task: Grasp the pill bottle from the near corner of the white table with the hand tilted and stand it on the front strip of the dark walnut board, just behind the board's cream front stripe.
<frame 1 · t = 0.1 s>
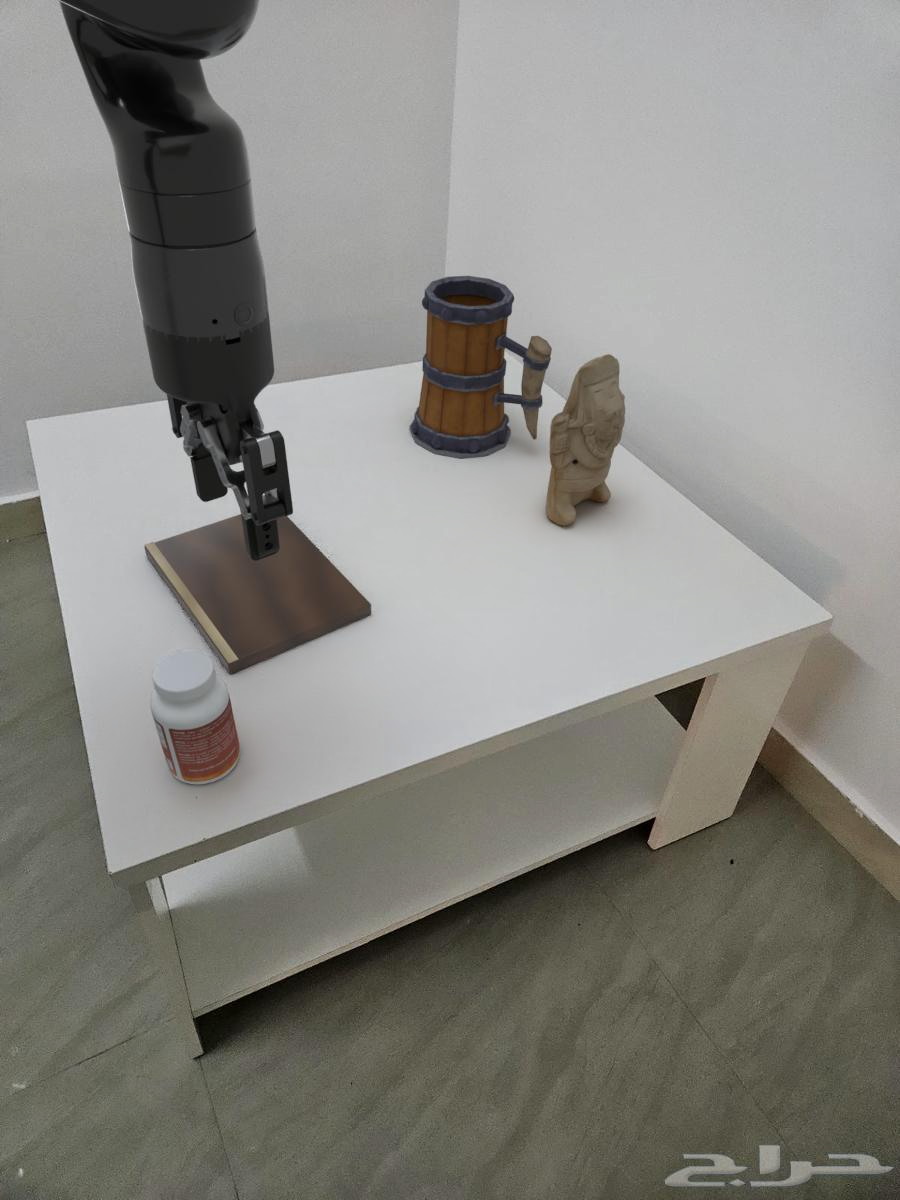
hand: (237, 524, 60), 22 cm above the table, tool pointing down, fingers open, 8 cm apart
figurine: (575, 510, 103), on the table
board: (255, 584, 89), on the table
pill bottle: (204, 759, 71), on the table
mug: (475, 438, 115), on the table
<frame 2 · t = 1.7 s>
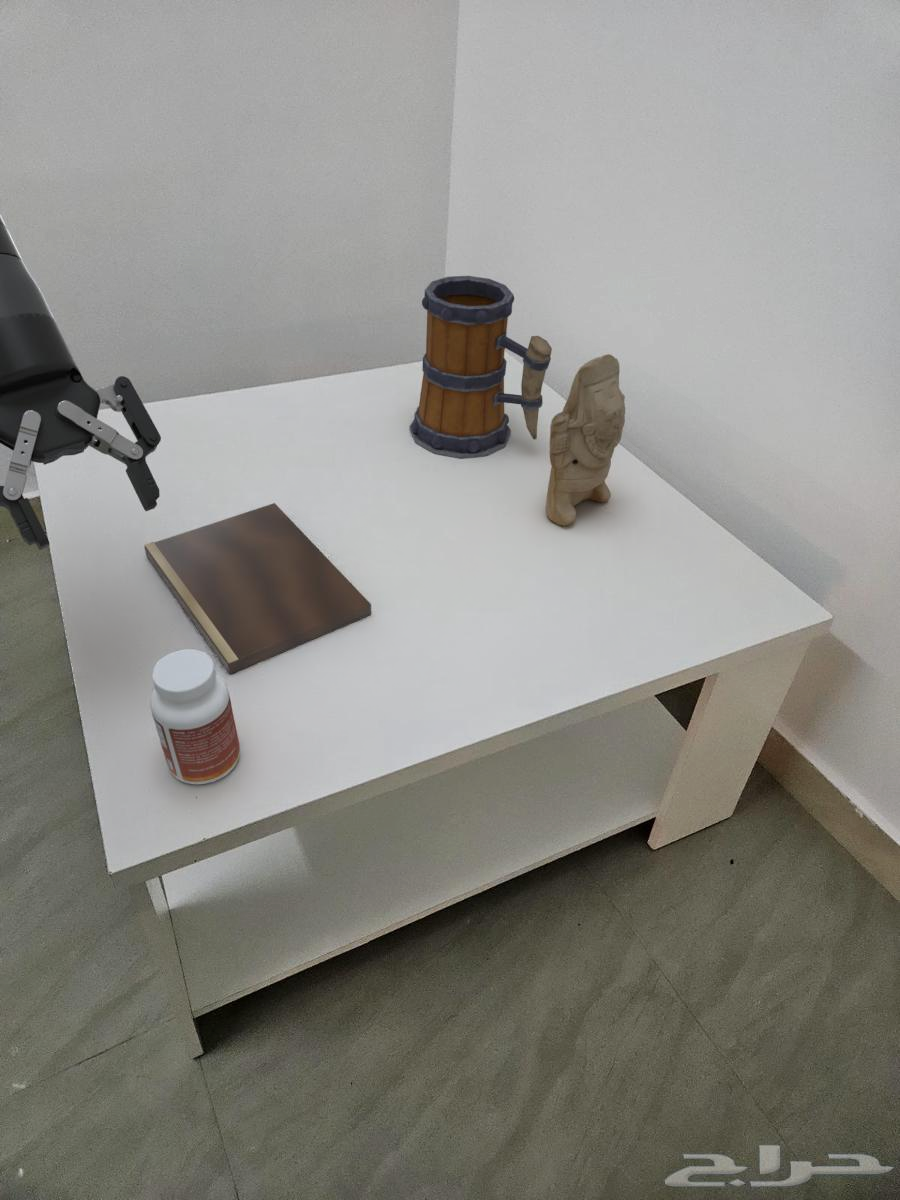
hand: (100, 526, 64), 19 cm above the table, tool tilted 45°, fingers open, 8 cm apart
nothing on the table moved.
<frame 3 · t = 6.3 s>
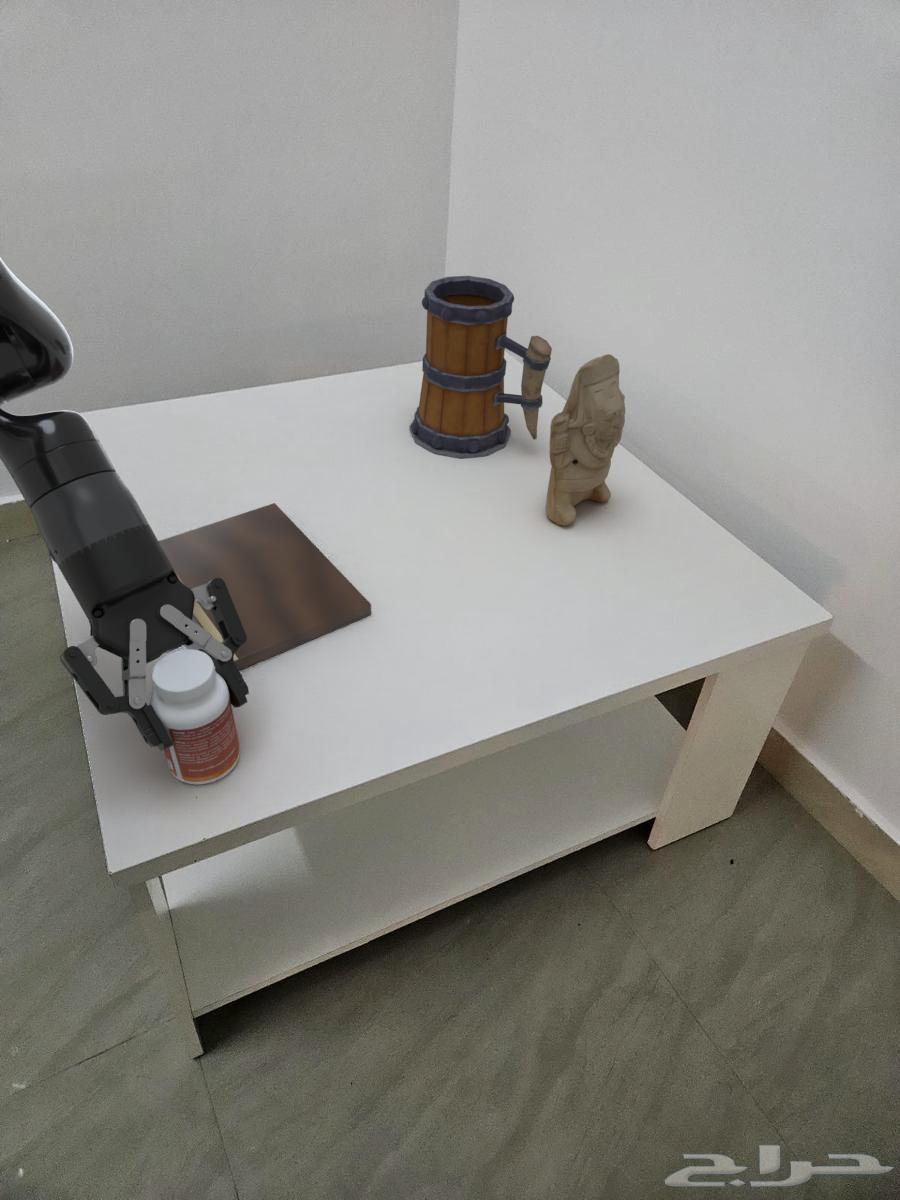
hand: (204, 725, 66), 6 cm above the table, tool tilted 45°, fingers closed on pill bottle, 6 cm apart
pill bottle: (204, 759, 71), on the table, touching gripper
everything else where it was.
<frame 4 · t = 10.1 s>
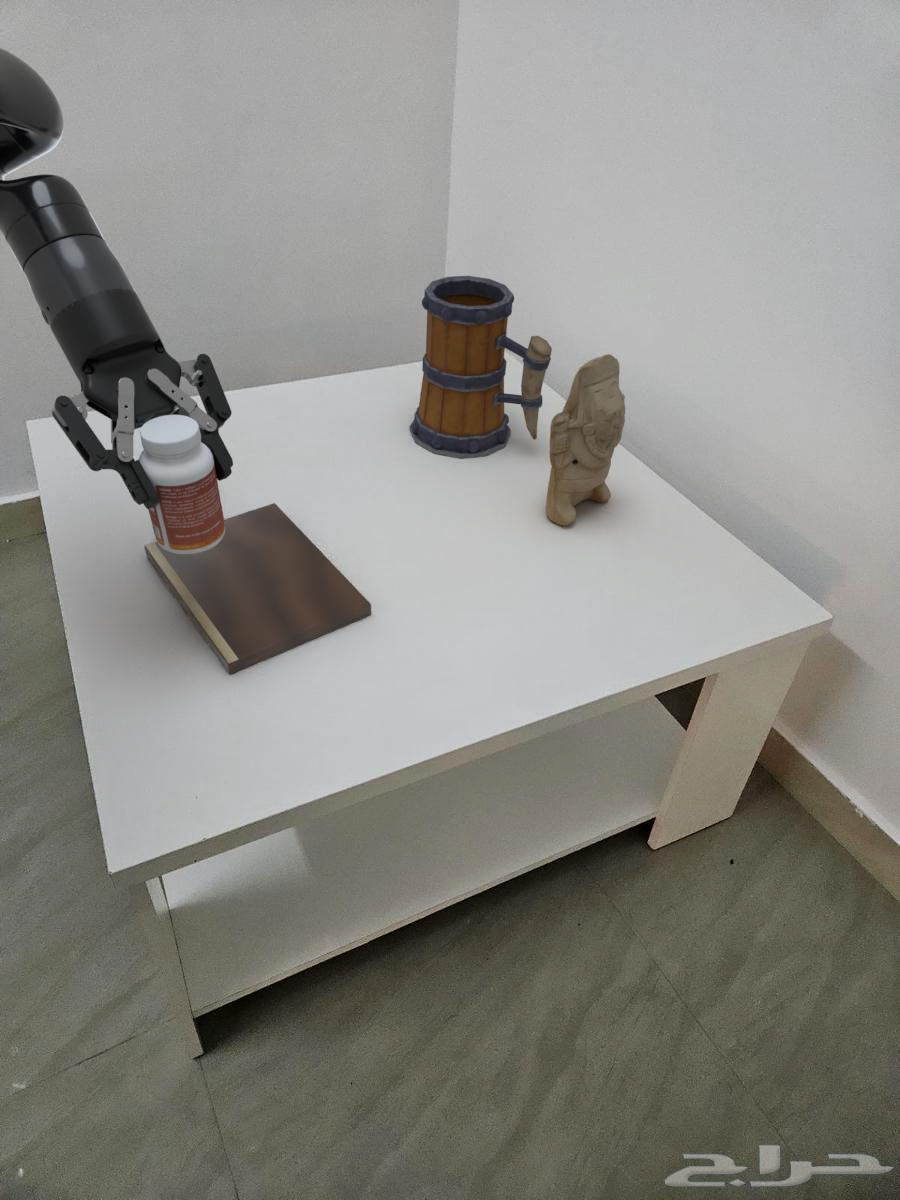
hand: (190, 490, 69), 18 cm above the table, tool tilted 45°, fingers closed on pill bottle, 6 cm apart
pill bottle: (191, 537, 74), point 12 cm above the table, touching gripper
everything else where it was.
when the fingers open (7 cm above the table, at t = 14.3 s): pill bottle stays where it is, resting on board.
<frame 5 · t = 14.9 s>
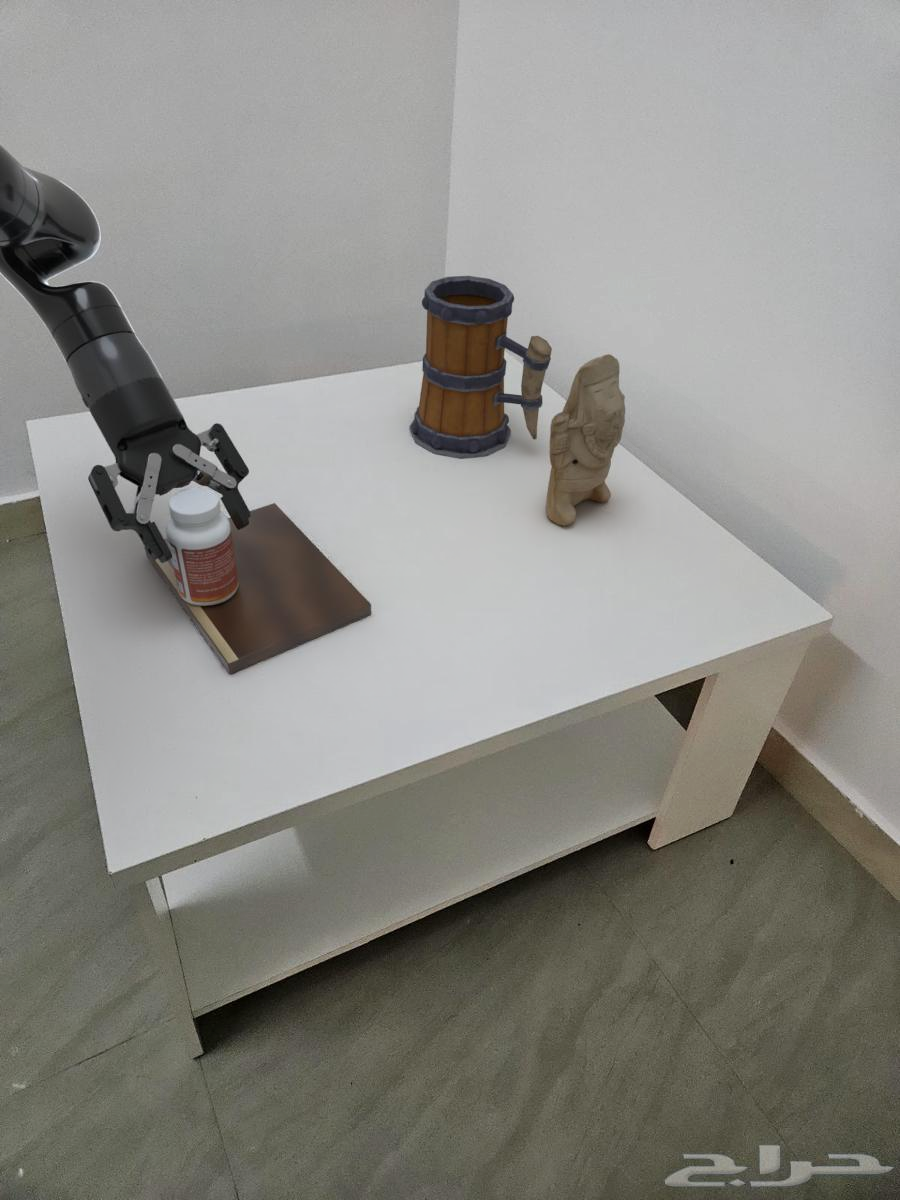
hand: (207, 543, 80), 8 cm above the table, tool tilted 45°, fingers open, 8 cm apart
pill bottle: (208, 590, 86), point 1 cm above the table, touching board
everything else where it was.
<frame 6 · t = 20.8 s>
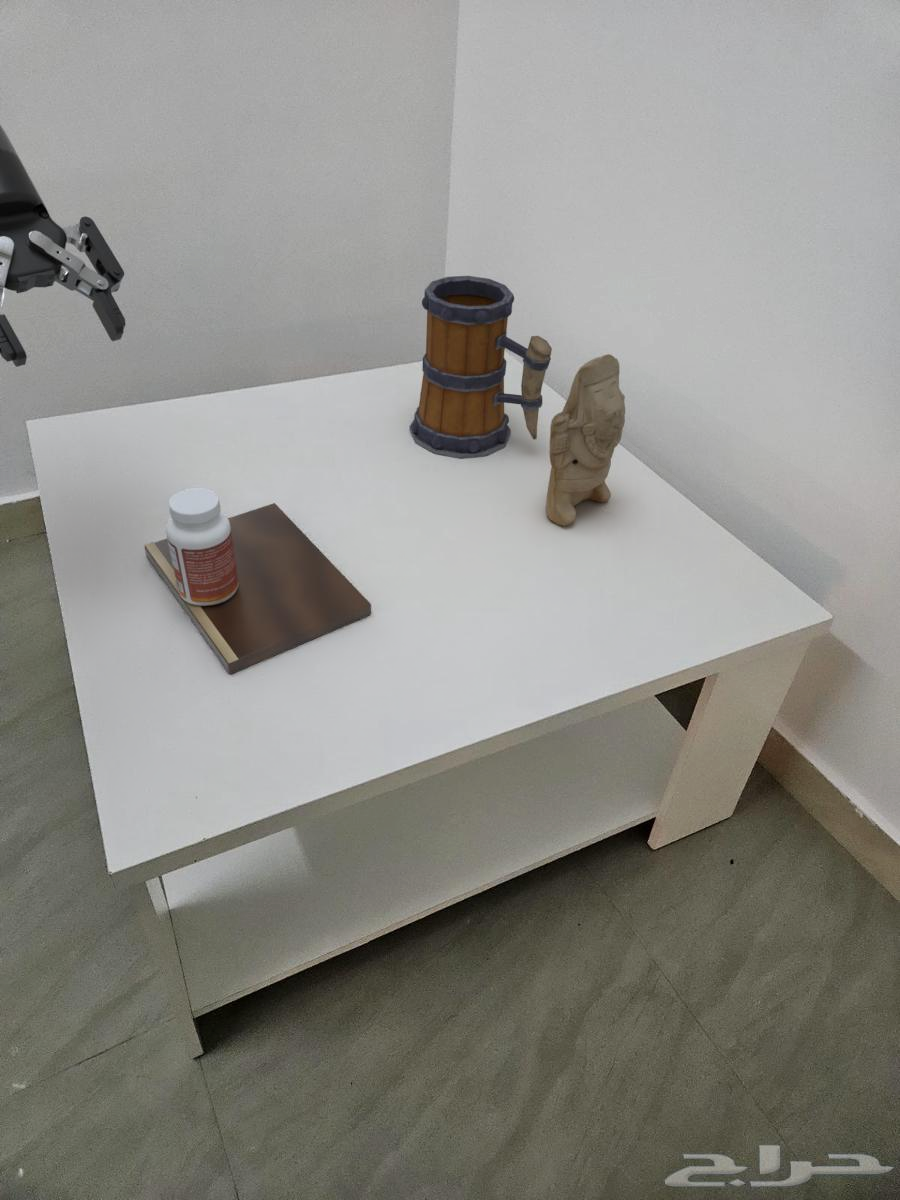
hand: (72, 348, 70), 27 cm above the table, tool tilted 45°, fingers open, 8 cm apart
nothing on the table moved.
at the end: pill bottle inside the target area on the board (0.1 cm from its centre), point 1.4 cm above the board's base; pill bottle tilted 1°; the gripper is holding nothing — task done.
